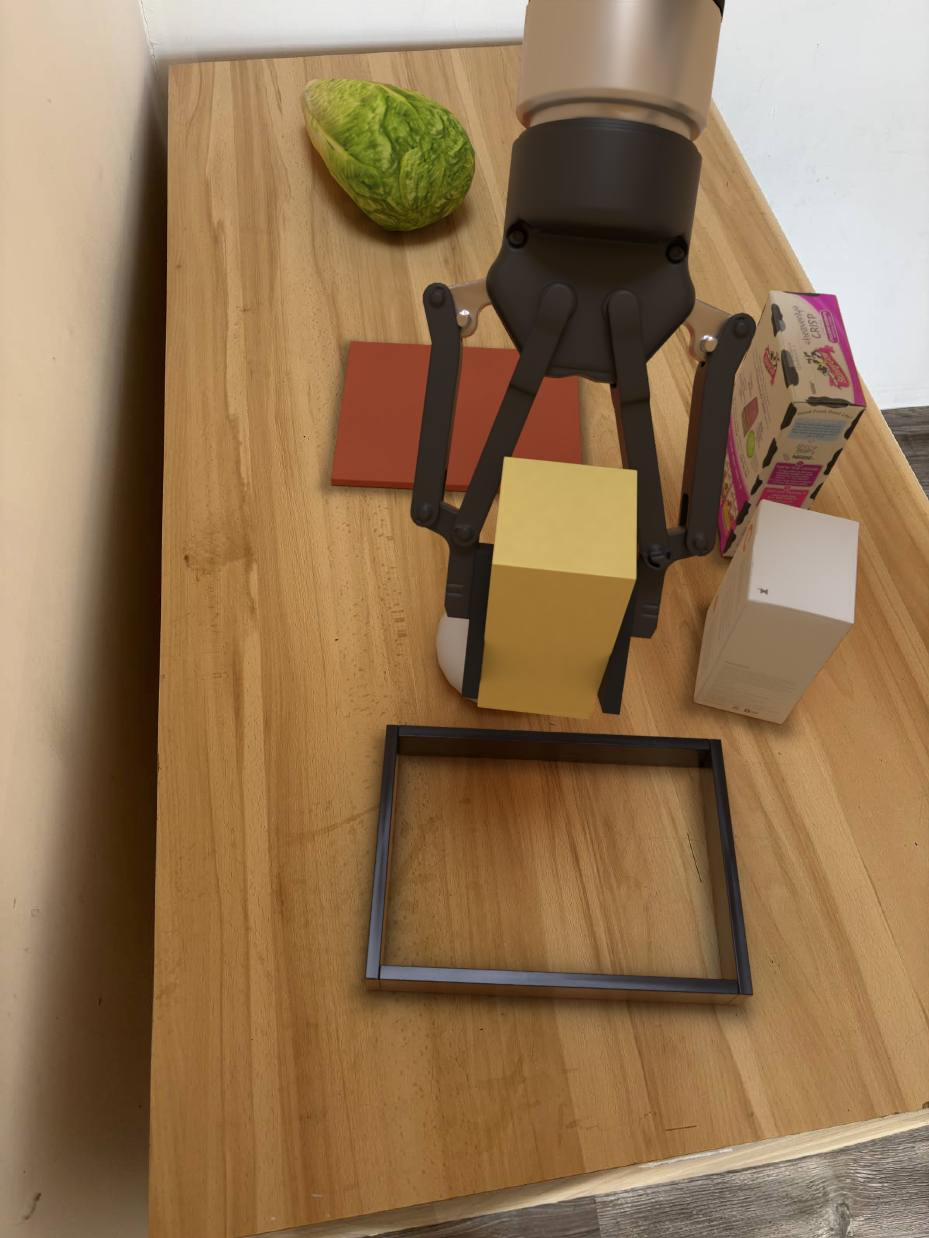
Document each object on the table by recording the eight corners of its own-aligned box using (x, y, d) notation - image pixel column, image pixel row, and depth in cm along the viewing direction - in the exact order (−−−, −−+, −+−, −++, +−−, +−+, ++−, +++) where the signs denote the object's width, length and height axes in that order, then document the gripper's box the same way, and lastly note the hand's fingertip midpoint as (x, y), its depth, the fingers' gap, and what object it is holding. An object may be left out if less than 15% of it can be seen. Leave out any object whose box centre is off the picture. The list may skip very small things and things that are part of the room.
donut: (434, 719, 64) (581, 719, 64) (434, 695, 61) (587, 696, 61) (436, 597, 69) (571, 597, 69) (435, 570, 66) (576, 571, 66)
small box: (782, 727, 64) (856, 626, 53) (691, 703, 65) (745, 599, 54) (792, 631, 68) (862, 519, 57) (706, 610, 69) (758, 496, 58)
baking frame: (709, 757, 63) (721, 738, 60) (738, 1005, 54) (753, 995, 52) (387, 743, 62) (386, 723, 60) (367, 989, 54) (364, 978, 51)
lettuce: (378, 55, 100) (284, 1, 91) (515, 153, 88) (423, 102, 79) (332, 163, 106) (238, 123, 96) (455, 269, 94) (362, 235, 85)
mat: (575, 358, 83) (576, 351, 82) (582, 497, 74) (583, 490, 74) (351, 347, 83) (350, 340, 82) (331, 485, 74) (330, 478, 74)
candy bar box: (785, 563, 72) (871, 407, 58) (720, 559, 72) (791, 403, 58) (765, 454, 78) (839, 290, 64) (705, 451, 78) (766, 286, 64)
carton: (592, 624, 48) (637, 469, 38) (589, 719, 45) (636, 579, 35) (487, 613, 48) (503, 455, 38) (477, 707, 46) (491, 563, 35)
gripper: (812, 184, 40) (726, 695, 45) (388, 144, 41) (349, 653, 46) (879, 133, 33) (767, 749, 38) (361, 85, 34) (319, 699, 39)
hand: (539, 696), depth 42 cm, fingers closed on carton, 5 cm apart
